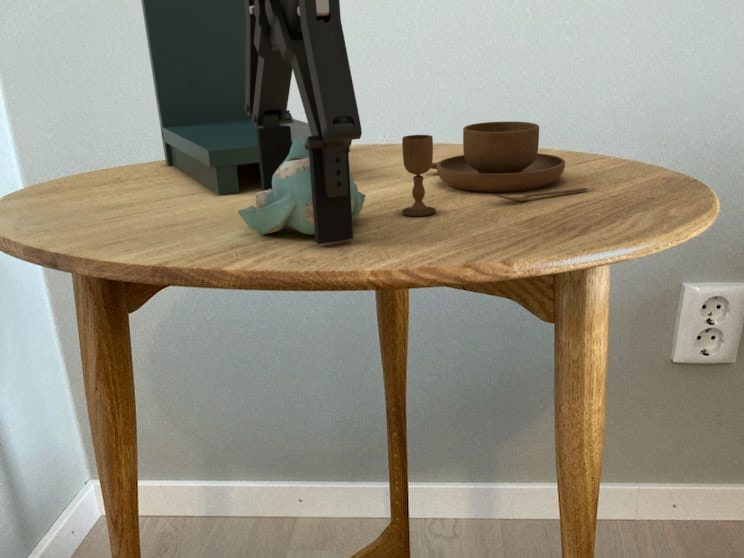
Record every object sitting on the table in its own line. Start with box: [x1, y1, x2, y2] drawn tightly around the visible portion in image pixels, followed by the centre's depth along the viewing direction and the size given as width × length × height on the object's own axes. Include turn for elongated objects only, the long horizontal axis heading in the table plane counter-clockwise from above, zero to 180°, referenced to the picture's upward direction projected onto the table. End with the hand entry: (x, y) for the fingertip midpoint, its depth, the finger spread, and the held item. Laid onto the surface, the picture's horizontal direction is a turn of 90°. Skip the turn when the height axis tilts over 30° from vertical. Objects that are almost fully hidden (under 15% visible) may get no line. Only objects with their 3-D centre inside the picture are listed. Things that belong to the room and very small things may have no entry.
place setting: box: [401, 121, 589, 217], centre depth 83 cm, size 18×20×6 cm
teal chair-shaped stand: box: [140, 0, 351, 196], centre depth 91 cm, size 21×14×22 cm, turn 24°
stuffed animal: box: [237, 136, 366, 236], centre depth 71 cm, size 11×7×12 cm
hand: (305, 224), depth 73 cm, fingers closed on stuffed animal, 12 cm apart
